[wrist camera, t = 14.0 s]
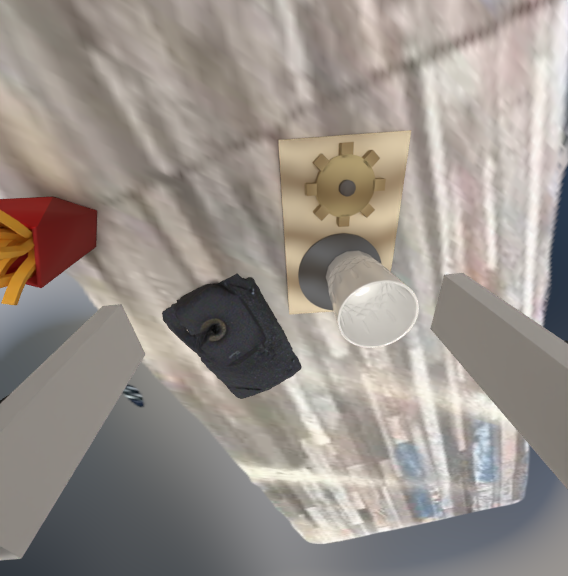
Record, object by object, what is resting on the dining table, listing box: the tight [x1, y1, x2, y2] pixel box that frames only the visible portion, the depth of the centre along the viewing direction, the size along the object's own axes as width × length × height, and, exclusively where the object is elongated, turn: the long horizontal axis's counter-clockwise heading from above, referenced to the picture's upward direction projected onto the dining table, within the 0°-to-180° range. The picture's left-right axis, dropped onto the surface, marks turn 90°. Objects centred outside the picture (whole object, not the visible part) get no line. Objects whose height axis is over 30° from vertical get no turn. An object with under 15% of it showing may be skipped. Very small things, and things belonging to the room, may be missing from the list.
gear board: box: [278, 130, 411, 314], centre depth 31 cm, size 22×14×4 cm, turn 4°
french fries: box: [0, 197, 97, 305], centre depth 24 cm, size 9×8×15 cm
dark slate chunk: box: [162, 274, 301, 399], centre depth 39 cm, size 15×22×5 cm
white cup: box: [326, 250, 419, 348], centre depth 29 cm, size 8×8×10 cm
